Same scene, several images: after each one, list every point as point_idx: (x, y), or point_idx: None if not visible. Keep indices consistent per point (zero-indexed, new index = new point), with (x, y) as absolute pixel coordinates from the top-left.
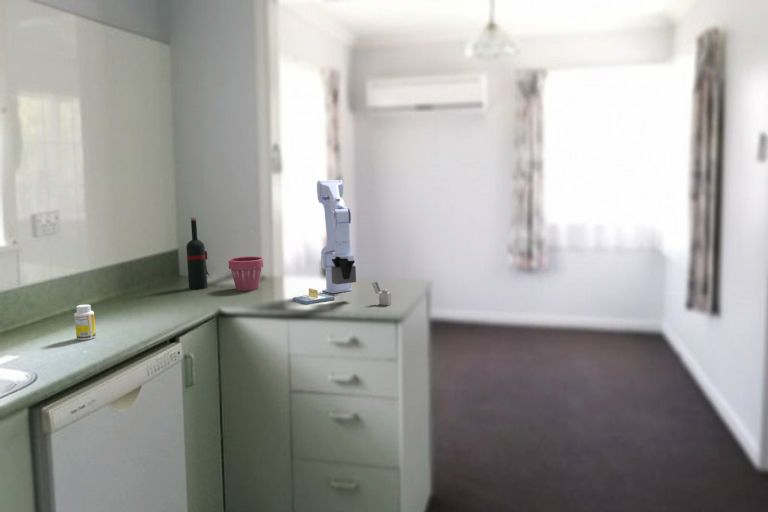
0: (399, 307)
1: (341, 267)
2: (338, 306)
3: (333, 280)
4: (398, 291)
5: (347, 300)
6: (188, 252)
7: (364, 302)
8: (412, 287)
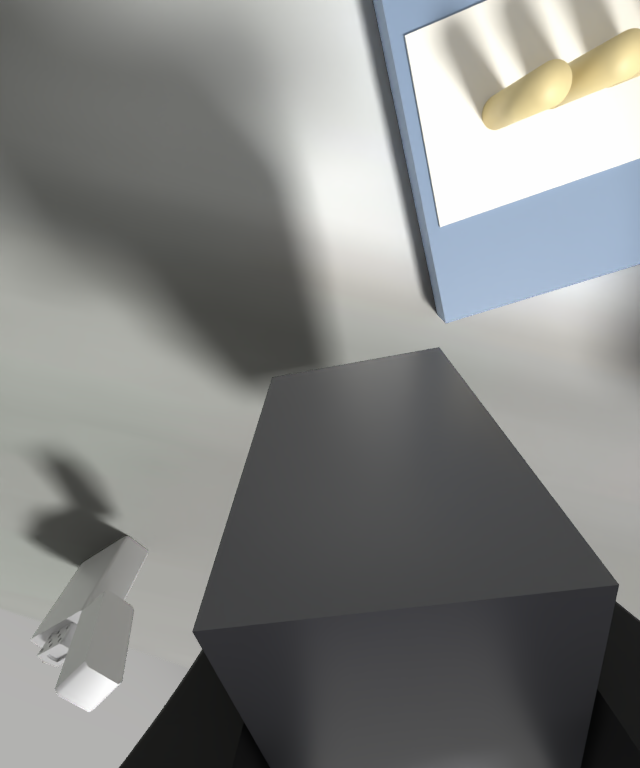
0: (8, 589)
1: (226, 746)
2: (124, 274)
3: (382, 379)
4: None
5: None
6: None
7: (222, 482)
8: None
